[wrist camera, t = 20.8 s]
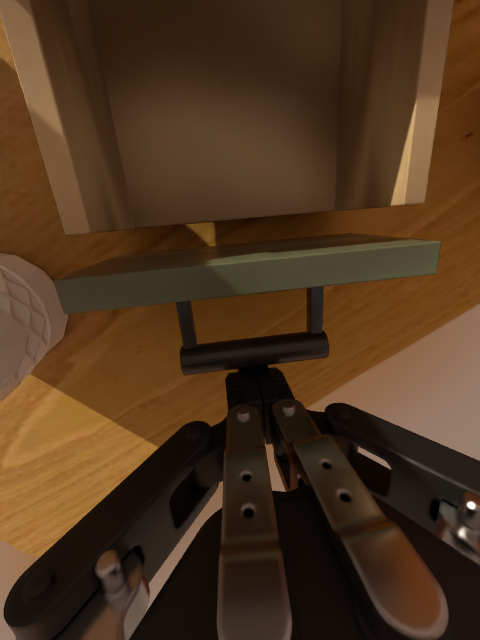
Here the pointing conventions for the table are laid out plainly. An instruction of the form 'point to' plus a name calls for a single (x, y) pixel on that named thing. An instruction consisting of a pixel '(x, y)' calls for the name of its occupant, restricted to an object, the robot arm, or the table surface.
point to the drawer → (232, 143)
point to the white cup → (26, 320)
